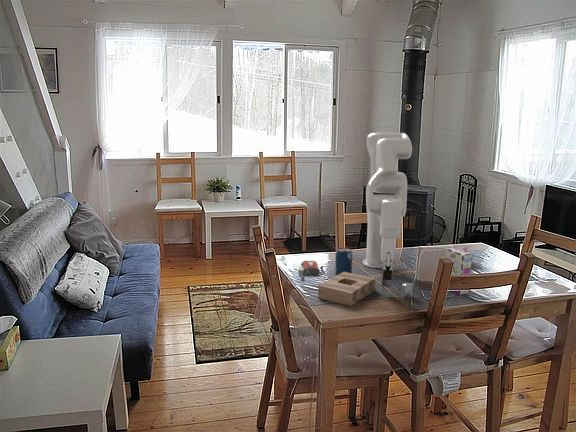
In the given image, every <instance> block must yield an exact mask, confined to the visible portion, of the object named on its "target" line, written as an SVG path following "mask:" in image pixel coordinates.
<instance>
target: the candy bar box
mask: <svg viewBox="0 0 576 432" xmlns="http://www.w3.org/2000/svg"><path fill="white" fill-rule="evenodd" d="M473 255H474V253H471V252H469V251H467V252H466V251H463V249H460V248H458V247H455V246H453V247H452V246H451V247H445V248H444V256H445V257H448V258H450V259H452V260H453V261H454V267H453V271H452V275H471V276H472V266H473V257H474V256H473ZM444 256H443V257H444ZM451 292H452V293H454V294H456V295H458V296H465V295H466V296H467V295H469V294H470V290H469V291H451Z"/></svg>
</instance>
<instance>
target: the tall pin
mask: <svg viewBox="0 0 576 432" xmlns="http://www.w3.org/2000/svg"><path fill="white" fill-rule="evenodd" d="M384 262H385V261H384ZM384 262H383V268H382V273H381V275H382V276H381V286H382V287H384V288H391V287H393V280H394V279H393V277H394V264H395V263H394V262H395V261H394V262H393V263H392V269H391V270H392V280H383V270H384ZM386 262H387V260H386ZM390 262H391V261H390Z"/></svg>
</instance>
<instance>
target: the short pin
mask: <svg viewBox="0 0 576 432" xmlns="http://www.w3.org/2000/svg"><path fill="white" fill-rule="evenodd" d="M413 288H414V284H413V283H411V282H402V283H401V297H402V298H403V299H407V300H409V299H413Z"/></svg>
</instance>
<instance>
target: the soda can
mask: <svg viewBox="0 0 576 432" xmlns="http://www.w3.org/2000/svg"><path fill="white" fill-rule="evenodd" d="M334 269H335V270H334V271H335V276H337V275H339V274H340V273H342V272H348V273H353V272H352V271H353V251H352V249H351V248H349V247H339V248H337V250H336V253H335V267H334Z"/></svg>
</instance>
